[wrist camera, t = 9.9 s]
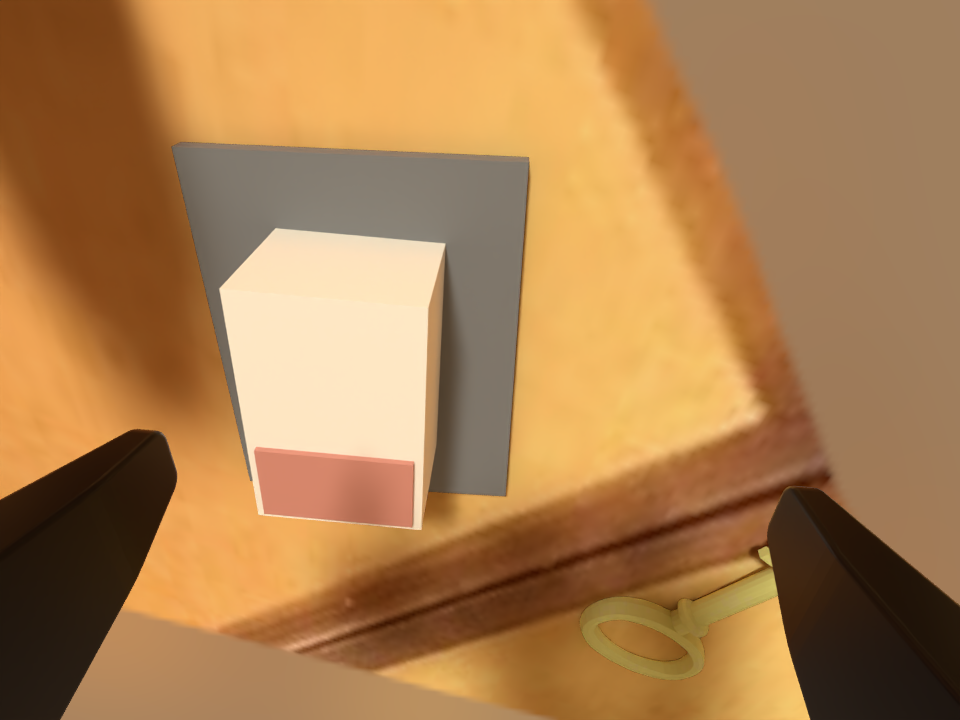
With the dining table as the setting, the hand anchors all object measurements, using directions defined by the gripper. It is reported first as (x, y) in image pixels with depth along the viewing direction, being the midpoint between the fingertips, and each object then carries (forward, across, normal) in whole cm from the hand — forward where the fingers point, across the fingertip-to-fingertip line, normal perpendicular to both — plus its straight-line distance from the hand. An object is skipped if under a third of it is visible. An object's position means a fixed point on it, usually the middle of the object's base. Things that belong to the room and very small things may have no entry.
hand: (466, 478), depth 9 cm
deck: (+12, +5, +6) cm, 14 cm away
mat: (+13, +5, +6) cm, 15 cm away
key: (+14, -10, +20) cm, 26 cm away
